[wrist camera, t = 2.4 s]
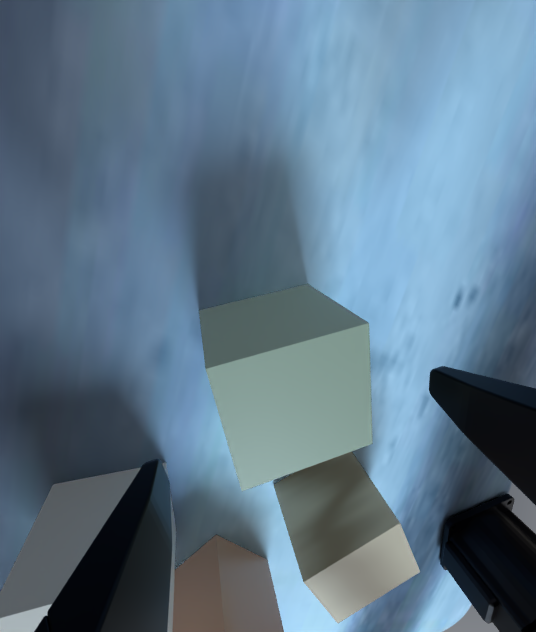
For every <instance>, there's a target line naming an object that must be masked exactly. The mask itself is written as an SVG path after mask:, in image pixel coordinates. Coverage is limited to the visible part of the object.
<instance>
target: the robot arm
mask: <svg viewBox="0 0 536 632" xmlns="http://www.w3.org/2000/svg"><path fill="white" fill-rule="evenodd" d="M429 391H430V394H431V396H432V397H433V398H434V399H435V401H436V402H437V403H438V404H439V405H440V407H441V408H442V409H443V410H444V411H445V412H446V414H447V415H448V416H449V417H450V418H451V420H452V421H453V422H454V423H455V424H456V425H457V427H458V428H459V429H460V430H461V431H462V432H463V433H464V434H465V436H466V437H467V438H468V439H469V440H470V441H471V442H472V443H473V444H474V445H475V446H476V447H477V448H478V449H479V450H480V451H481V452H482V453H483V454H484V455H485V456H486V457H487V458H488V459H489V460H490V461H491V462H492V463H493V464H494V465H495V466H496V467H497V468H498V469H499V470H500V471H502V472H503V473H504V474H505V475H506V476H507V477H508V478H509V479H510V480H511V481H512V482H513V483H514V484H515V485H516V486H517V487H518V488H519V489H520V490H521V491H522V492H523V493H524V494H525V495H526V496H527V497H528V498H529V499H530V500H531V501H532V502H533V503H534V504H535V505H536V389H535V388H531V387H527V386H522V385H518V384H514V383H510V382H506V381H502V380H498V379H494V378H490V377H486V376H482V375H478V374H473V373H469V372H465V371H461V370H457V369H453V368H449V367H445V366H441V367H438V368H435V369H432V370H431V372H430V381H429ZM513 504H514V498H513V497H512V496H510V495H509V494H505V495H503V496H501V497H498V498H496V499H494V500H491V501H489V502H487V503H485V504H482V505H480V506H478V507H475V508H473V509H471V510H469V511H466V512H464V513H462V514H459V515H457V516H455V517H453V518H450V519H449V520H448V521H447V522H446V523H445V529H444V537H443V545H442V553H441V561H440V564H441V566H442V567H443V569H444V570H448V571H449V573H450V574H451V575H452V577H453V578H454V580H455V581H456V582H457V584H458V585H459V587H460V588H461V589H462V591H463V592H464V594H465V595H466V596H467V598H468V599H469V601H470V602H471V603H472V605H473V606H474V608H475V609H476V610H477V612H478V613H479V615H480V616H481V617H482V619H483V620H484V621H485V622H487V623H491V622H493V623H494V625H495V626H496V627H497V629H498V630H499V632H536V534H535V533H534V532H533V531H532V530H531V529H529V527H527V526H526V525H525V524H524V523H523V522H522V521H521V520H520V519H519V518H518V517H517V516H516V515H514V513H512V507H513ZM171 563H172V521H171V499H170V483H169V479H168V476H167V474H166V471H165V469H164V467H163V465H162V462H161V461H160V460H159V459H155V460H152V461H149V462H146V463H145V464H144V465H143V466H142V467H141V469H140V470H139V472H138V473H137V475H136V476H135V478H134V479H133V481H132V482H131V484H130V486H129V487H128V489H127V490H126V492H125V493H124V495H123V496H122V498H121V499H120V501H119V502H118V504H117V505H116V507H115V509H114V510H113V512H112V513H111V515H110V516H109V518H108V519H107V521H106V522H105V524H104V525H103V527H102V529H101V530H100V532H99V533H98V535H97V536H96V538H95V539H94V541H93V542H92V544H91V545H90V547H89V548H88V550H87V552H86V553H85V555H84V556H83V558H82V559H81V561H80V562H79V564H78V565H77V567H76V568H75V570H74V571H73V573H72V575H71V576H70V578H69V579H68V581H67V582H66V584H65V585H64V587H63V588H62V590H61V591H60V593H59V594H58V596H57V598H56V599H55V601H54V602H53V604H52V605H51V607H50V608H49V610H48V612H47V615H48V616H44V617H43V619H42V620H41V622H40V623H39V625H38V626H37V628H36V630H35V631H34V632H167V629H168V613H169V596H170V580H171Z"/></svg>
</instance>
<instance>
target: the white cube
mask: <svg viewBox="0 0 536 632" xmlns="http://www.w3.org/2000/svg"><path fill="white" fill-rule="evenodd" d="M162 465H163V467H164V469H165V471H166V474H167V476H168V471H167V465H166V463H162ZM140 469H141V467H140V468H135V469H130V470H125V471H119V472H114V473H109V474H104V475H99V476H94V477H88V478H83V479H78V480H73V481H68V482H63V483H57V484H53V485H52V488H51V490H50V492H49V494H48V496H47V498H46V500H45V502H44V504H43V506H42V508H41V510H40V512H39V514H38V516H37V518H36V520H35V522H34V524H33V526H32V528H31V531H30V533H29V535H28V537H27V539H26V541H25V543H24V545H23V547H22V549H21V551H20V553H19V555H18V557H17V559H16V561H15V563H14V565H13V567H12V569H11V571H10V573H9V576H8V578H7V580H6V582H5V584H4V586H3V588H2V590H1V592H0V632H34V631H35V630H36V628H37V626H38V625H39V623H40V622H41V620H42V619H43V617H44V616H48V615H47V612H48V610H49V608H50V607H51V605H52V604H53V602H54V601H55V599H56V598H57V596H58V594H59V593H60V591H61V590H62V588H63V587H64V585H65V584H66V582H67V581H68V579H69V578H70V576H71V575H72V573H73V571H74V570H75V568H76V567H77V565H78V564H79V562H80V561H81V559H82V558H83V556H84V555H85V553H86V552H87V550H88V548H89V547H90V545H91V544H92V542H93V541H94V539H95V538H96V536H97V535H98V533H99V532H100V530H101V529H102V527H103V525H104V524H105V522H106V521H107V519H108V518H109V516H110V515H111V513H112V512H113V510H114V509H115V507H116V505H117V504H118V502H119V501H120V499H121V498H122V496H123V495H124V493H125V492H126V490H127V489H128V487H129V486H130V484H131V482H132V481H133V479H134V478H135V476H136V475H137V473H138V472H139V470H140ZM168 479H169V478H168ZM170 499H171V521H172V563H171V580H170V596H169V613H168V629H167V632H173V605H174V578H175V551H176V524H175V517H174V511H173V504H172V498H171V491H170Z"/></svg>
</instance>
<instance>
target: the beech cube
mask: <svg viewBox="0 0 536 632" xmlns="http://www.w3.org/2000/svg"><path fill="white" fill-rule="evenodd" d="M274 488H275V491H276V494H277V498H278V501H279V504H280V507H281V511H282V514H283V517H284V520H285V524H286V527H287V530H288V533H289V536H290V540H291V543H292V546H293V549H294V553H295V556H296V559H297V562H298V566H299V569H300V572H301V575H302V579H303V582H304V583H305V584H306V586H307V587H308V588H309V589H310V590H311V592H312V593H313V594H314V595H315V596H316V598H317V599H318V600H319V601H320V603H321V604H322V605H323V606H324V607H325V609H326V610H327V611H328V612H329V613H330V615H331V616H332V617H333V618H334V619H335V621H336V622H337V623H340V622H341V621H343V620H344V619H346V618H347V617H349V616H351V615H352V614H354V613H355V612H357V611H359V610H360V609H362V608H363V607H365V606H367V605H368V604H370V603H371V602H373V601H374V600H376V599H378V598H379V597H381V596H382V595H384V594H386V593H387V592H389V591H390V590H392V589H394V588H395V587H397V586H398V585H400V584H402V583H403V582H405V581H406V580H408V579H409V578H411V577H413V576H414V575H416V574H417V573H419V572H420V570H419V568H418V565H417V563H416V561H415V558H414V556H413V553H412V551H411V549H410V546H409V544H408V541H407V539H406V536H405V534H404V532H403V529H402V527H401V524H400V522H399V521H398V519H397V518H396V516H395V515H394V513H393V512H392V510H391V509H390V508H389V506H388V505H387V503H386V502H385V500H384V499H383V497H382V496H381V494H380V493H379V491H378V490H377V488H376V487H375V485H374V484H373V482H372V481H371V479H370V478H369V476H368V475H367V473H366V472H365V470H364V469H363V467H362V466H361V464H360V463H359V461H358V460H357V458H356V457H355V455H354V454H353V452H349V453H346V454H343V455H341V456H338V457H335V458H332V459H330V460H327V461H324V462H321V463H319V464H316V465H313V466H310V467H308V468H305V469H302V470H299V471H297V472H294V473H293V474H291V475H289V476H288V477H286V478H284V479H282V480H281V481H279V482H277V483H276V484H274Z"/></svg>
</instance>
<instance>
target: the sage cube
mask: <svg viewBox="0 0 536 632" xmlns="http://www.w3.org/2000/svg"><path fill="white" fill-rule="evenodd" d="M199 316H200V324H201V333H202V342H203V350H204V359H205V368H206V372H207V375H208V379H209V382H210V385H211V389H212V392H213V396H214V399H215V402H216V406H217V409H218V412H219V416H220V419H221V423H222V426H223V429H224V433H225V436H226V439H227V443H228V446H229V450H230V453H231V456H232V460H233V463H234V466H235V470H236V473H237V477H238V480H239V483H240V487H241V490H242V491H244V490H247V489H250V488H253V487H255V486H258V485H261V484H264V483H266V482H269V481H272V480H275V479H277V478H280V477H283V476H286V475H288V474H291V473H294V472H297V471H299V470H302V469H305V468H308V467H310V466H313V465H316V464H319V463H321V462H324V461H327V460H330V459H332V458H335V457H338V456H341V455H343V454H346V453H349V452H352V451H354V450H357V449H360V448H363V447H365V446H368V445H371V444H372V411H371V376H370V341H369V323H368V322H366V321H365V320H363V319H362V318H360V317H359V316H357V315H356V314H354V313H352V312H351V311H349V310H348V309H346V308H345V307H343V306H341V305H340V304H338V303H337V302H335V301H334V300H332V299H330V298H329V297H327V296H326V295H324V294H323V293H321V292H320V291H318V290H316V289H315V288H313V287H312V286H310V285H309V284H305V285H301V286H297V287H293V288H288V289H284V290H280V291H276V292H272V293H268V294H264V295H260V296H256V297H251V298H247V299H243V300H239V301H235V302H231V303H227V304H223V305H219V306H215V307H210V308H206V309H202V310H199Z"/></svg>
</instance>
